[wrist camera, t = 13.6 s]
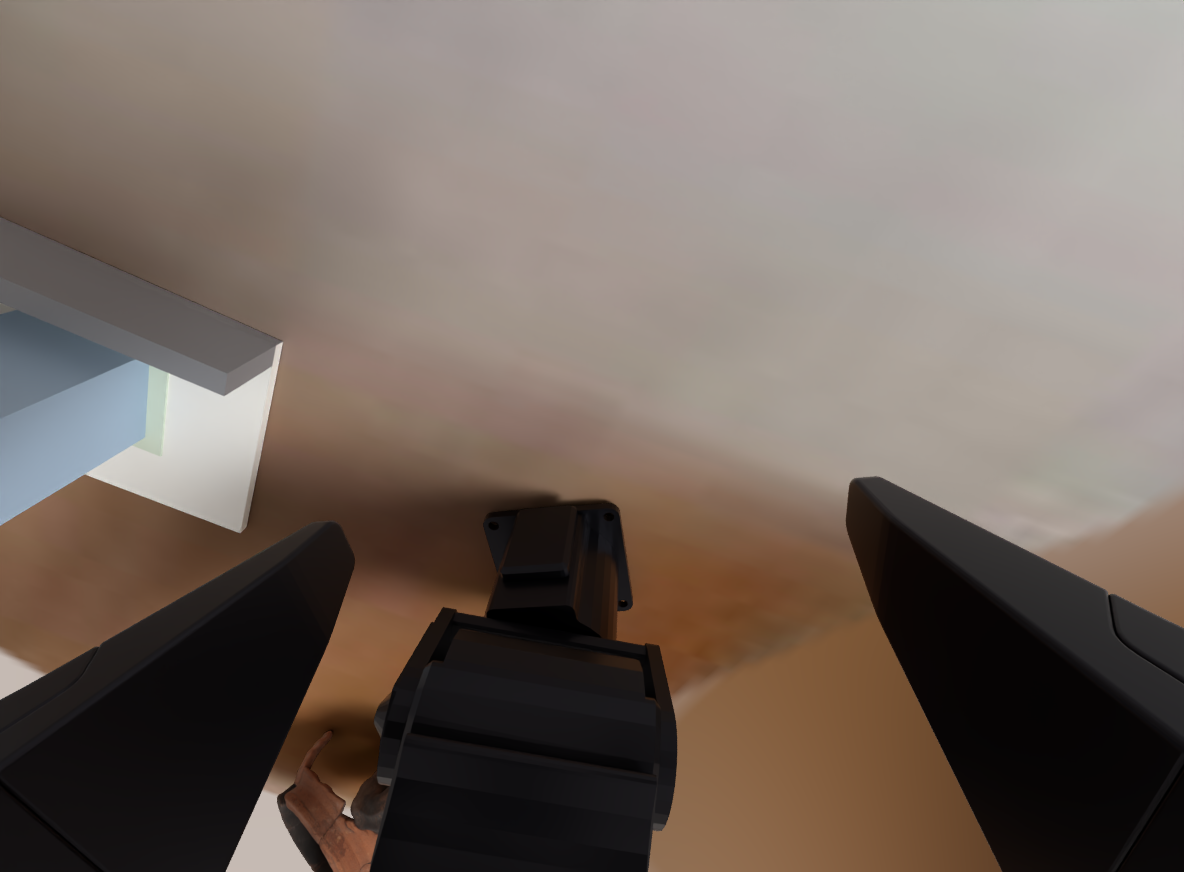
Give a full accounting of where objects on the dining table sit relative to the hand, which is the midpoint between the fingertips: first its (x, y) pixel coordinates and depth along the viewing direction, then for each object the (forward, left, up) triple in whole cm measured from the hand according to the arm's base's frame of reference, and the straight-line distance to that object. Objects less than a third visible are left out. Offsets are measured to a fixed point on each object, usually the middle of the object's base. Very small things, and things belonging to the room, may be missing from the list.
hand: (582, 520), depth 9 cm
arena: (-1, +22, -13) cm, 25 cm away
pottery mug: (-28, +18, -13) cm, 36 cm away
